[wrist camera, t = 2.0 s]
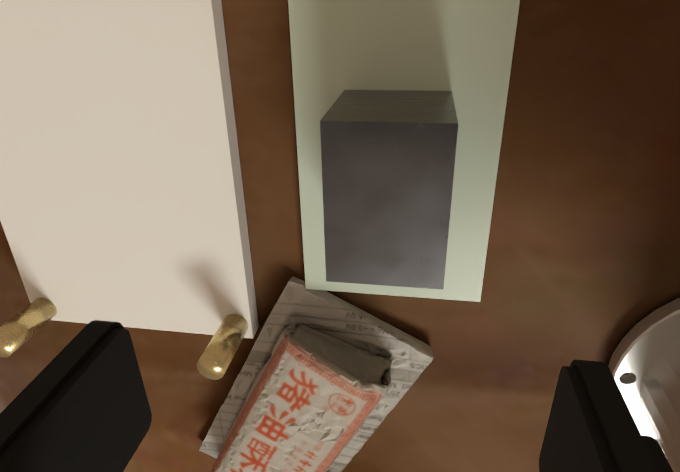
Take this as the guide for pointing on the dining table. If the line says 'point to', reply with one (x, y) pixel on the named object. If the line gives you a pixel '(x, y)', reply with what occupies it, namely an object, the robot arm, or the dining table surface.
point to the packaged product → (313, 386)
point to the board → (407, 63)
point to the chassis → (124, 170)
